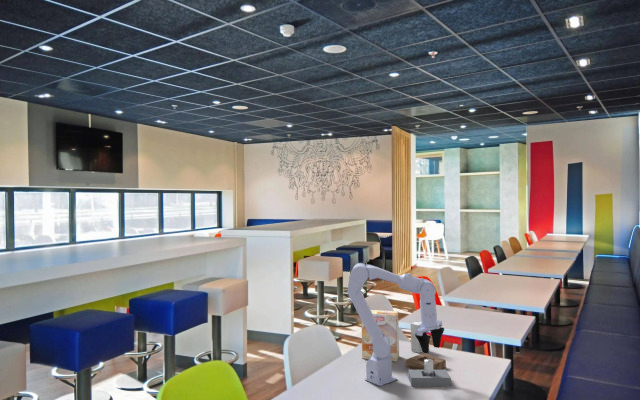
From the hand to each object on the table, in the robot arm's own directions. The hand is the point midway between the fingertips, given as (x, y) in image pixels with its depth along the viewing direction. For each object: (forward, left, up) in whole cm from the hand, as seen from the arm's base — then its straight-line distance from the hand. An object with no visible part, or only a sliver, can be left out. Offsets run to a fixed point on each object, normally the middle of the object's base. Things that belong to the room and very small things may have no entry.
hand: (431, 350), depth 171 cm
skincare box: (+23, +25, -12) cm, 36 cm away
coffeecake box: (+4, +30, -12) cm, 33 cm away
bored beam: (-2, 0, -11) cm, 11 cm away
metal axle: (-2, 0, -11) cm, 11 cm away
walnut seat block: (+9, +10, -11) cm, 18 cm away
